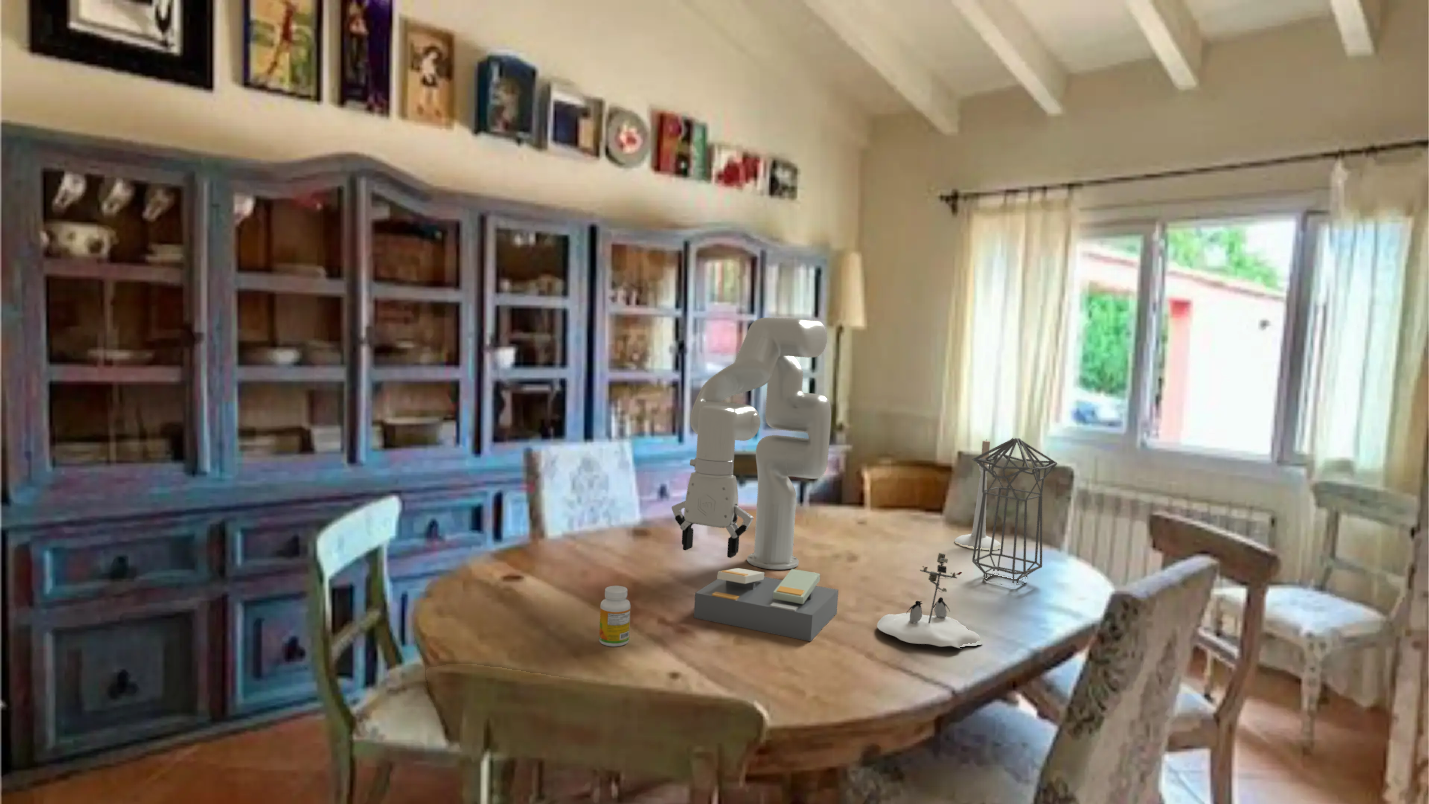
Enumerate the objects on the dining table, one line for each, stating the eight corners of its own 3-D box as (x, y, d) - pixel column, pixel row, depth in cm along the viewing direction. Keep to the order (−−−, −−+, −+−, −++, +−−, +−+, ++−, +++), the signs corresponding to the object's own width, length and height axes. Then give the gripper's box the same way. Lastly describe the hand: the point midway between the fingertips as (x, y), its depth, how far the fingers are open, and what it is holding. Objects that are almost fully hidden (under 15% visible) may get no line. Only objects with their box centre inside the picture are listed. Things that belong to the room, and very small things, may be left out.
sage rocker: (791, 575, 174) (791, 567, 173) (820, 580, 171) (820, 572, 171) (773, 598, 164) (773, 591, 164) (803, 604, 162) (803, 596, 161)
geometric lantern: (1049, 584, 203) (1062, 440, 200) (1022, 597, 192) (1035, 444, 189) (987, 569, 214) (999, 432, 211) (958, 580, 203) (969, 435, 199)
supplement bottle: (599, 635, 155) (601, 583, 154) (629, 636, 156) (631, 584, 155) (598, 646, 150) (600, 593, 149) (628, 647, 150) (631, 594, 149)
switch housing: (729, 593, 184) (730, 565, 183) (836, 613, 174) (838, 584, 174) (693, 617, 167) (695, 587, 167) (810, 641, 158) (812, 609, 157)
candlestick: (1006, 544, 241) (1015, 440, 238) (995, 553, 230) (1004, 444, 227) (961, 536, 248) (969, 435, 245) (948, 545, 237) (956, 438, 234)
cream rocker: (737, 574, 179) (737, 567, 179) (763, 579, 176) (764, 571, 177) (717, 578, 169) (718, 570, 169) (745, 583, 166) (746, 575, 166)
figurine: (914, 655, 152) (927, 565, 151) (858, 622, 168) (869, 541, 168) (1001, 653, 160) (1013, 568, 159) (939, 622, 176) (950, 545, 176)
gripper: (667, 465, 168) (662, 549, 170) (748, 475, 161) (742, 563, 163) (683, 461, 175) (678, 542, 176) (761, 470, 168) (756, 555, 170)
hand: (709, 552), depth 170 cm, fingers open, 9 cm apart
